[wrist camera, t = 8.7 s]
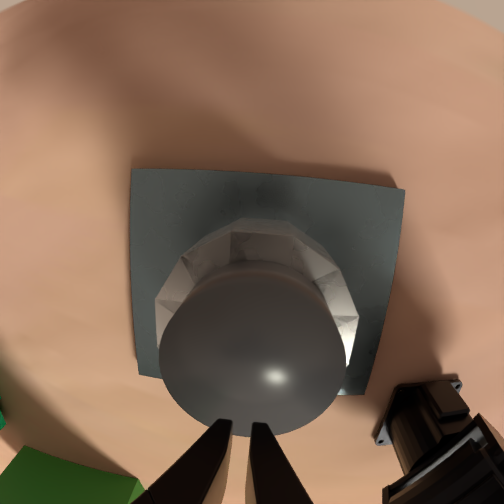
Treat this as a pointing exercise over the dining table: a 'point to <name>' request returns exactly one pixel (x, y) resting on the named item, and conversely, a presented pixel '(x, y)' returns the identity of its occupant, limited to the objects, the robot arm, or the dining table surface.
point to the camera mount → (2, 420)
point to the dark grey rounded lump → (253, 349)
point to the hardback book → (62, 482)
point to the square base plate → (264, 248)
